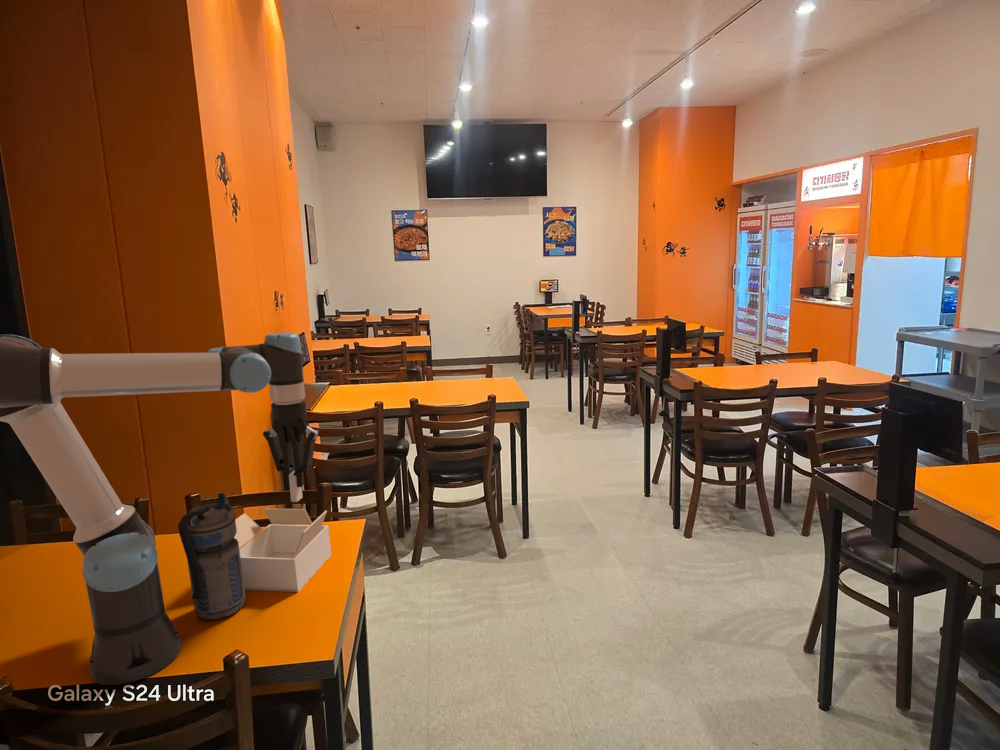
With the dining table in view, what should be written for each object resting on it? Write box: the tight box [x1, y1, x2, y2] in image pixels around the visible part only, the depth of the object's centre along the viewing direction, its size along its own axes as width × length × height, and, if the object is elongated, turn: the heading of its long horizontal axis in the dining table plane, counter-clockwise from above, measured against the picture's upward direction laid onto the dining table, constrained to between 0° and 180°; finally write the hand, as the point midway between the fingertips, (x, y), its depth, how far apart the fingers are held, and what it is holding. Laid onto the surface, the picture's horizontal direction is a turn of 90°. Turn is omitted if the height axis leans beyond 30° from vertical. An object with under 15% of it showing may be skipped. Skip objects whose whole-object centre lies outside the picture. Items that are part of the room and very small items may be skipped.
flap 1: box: [263, 507, 313, 525], centre depth 156 cm, size 6×11×1 cm
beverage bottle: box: [177, 492, 246, 621], centre depth 132 cm, size 10×13×25 cm
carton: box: [234, 512, 332, 593], centre depth 150 cm, size 18×20×13 cm
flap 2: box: [295, 510, 328, 554], centre depth 146 cm, size 12×6×1 cm
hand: (296, 499), depth 144 cm, fingers closed
